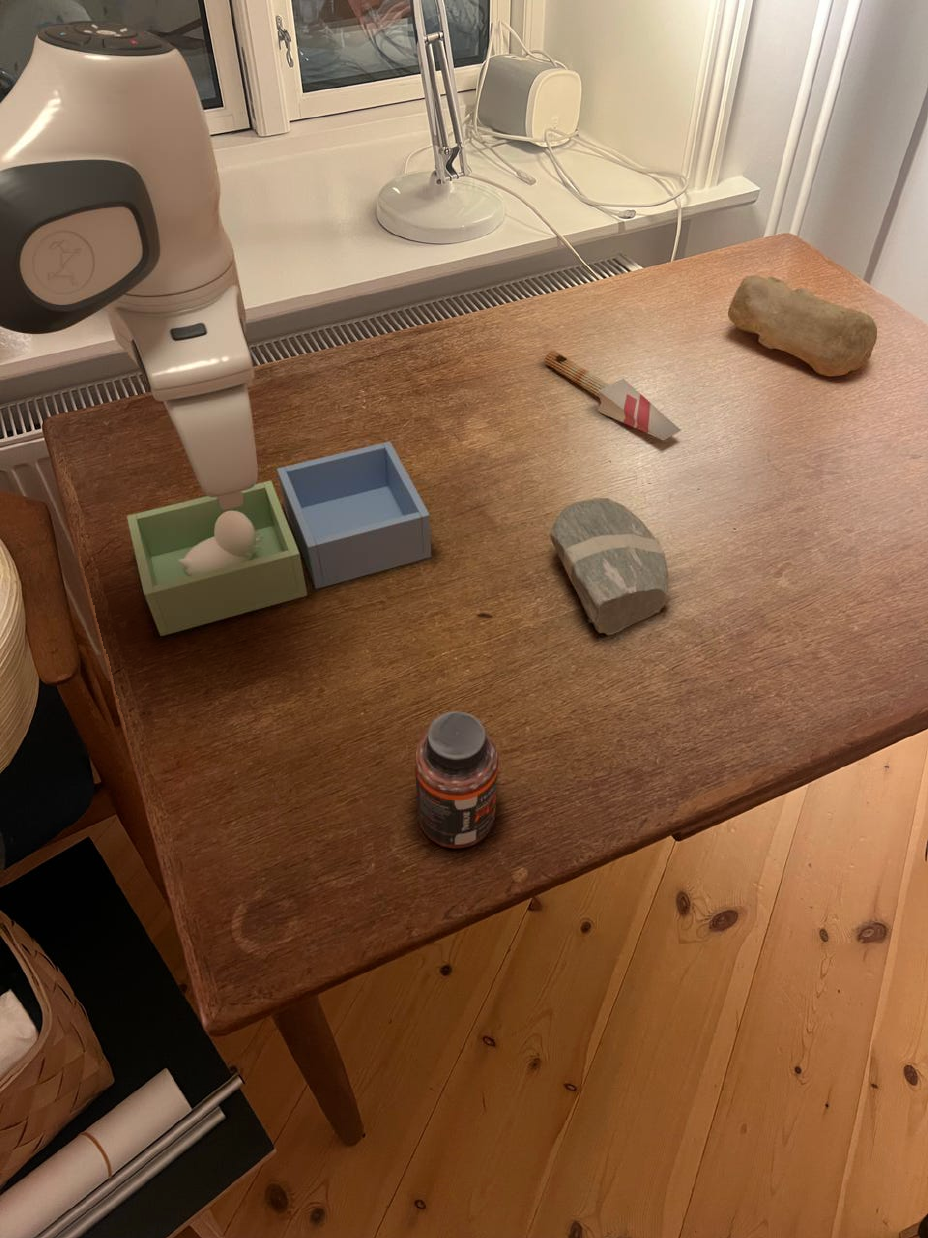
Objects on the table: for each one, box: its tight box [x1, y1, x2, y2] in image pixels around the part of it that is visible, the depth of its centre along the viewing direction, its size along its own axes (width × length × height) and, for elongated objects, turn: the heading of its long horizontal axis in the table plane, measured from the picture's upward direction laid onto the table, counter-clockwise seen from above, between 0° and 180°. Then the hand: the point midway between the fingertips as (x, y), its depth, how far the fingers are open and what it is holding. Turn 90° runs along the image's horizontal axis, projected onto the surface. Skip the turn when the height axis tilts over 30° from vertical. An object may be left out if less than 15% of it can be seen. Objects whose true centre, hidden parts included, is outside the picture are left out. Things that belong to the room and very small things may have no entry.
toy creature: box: [178, 511, 262, 577], centre depth 85 cm, size 5×8×6 cm, turn 123°
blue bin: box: [276, 440, 432, 590], centre depth 89 cm, size 12×12×6 cm
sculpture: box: [727, 275, 878, 377], centre depth 109 cm, size 9×17×10 cm
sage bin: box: [126, 480, 308, 637], centre depth 85 cm, size 14×11×6 cm
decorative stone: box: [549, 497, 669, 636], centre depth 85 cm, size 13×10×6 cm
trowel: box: [544, 349, 682, 441], centre depth 104 cm, size 4×3×20 cm
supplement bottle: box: [414, 710, 499, 849], centre depth 67 cm, size 6×6×11 cm
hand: (216, 464), depth 72 cm, fingers open, 8 cm apart
